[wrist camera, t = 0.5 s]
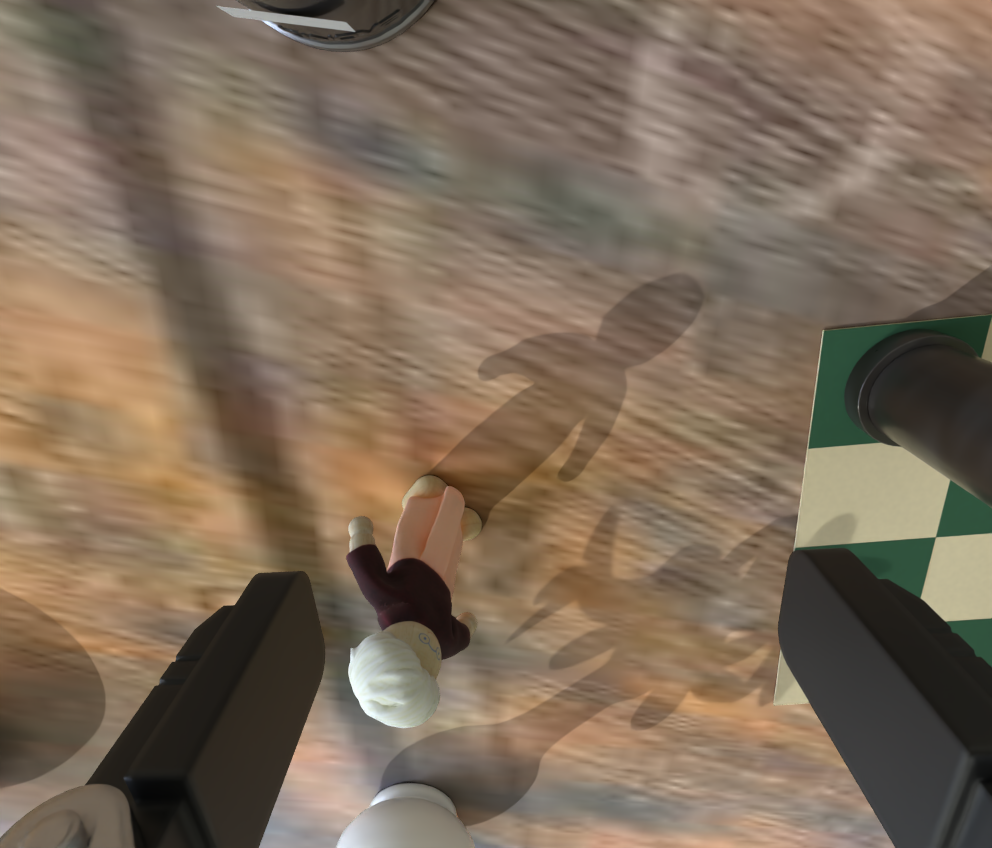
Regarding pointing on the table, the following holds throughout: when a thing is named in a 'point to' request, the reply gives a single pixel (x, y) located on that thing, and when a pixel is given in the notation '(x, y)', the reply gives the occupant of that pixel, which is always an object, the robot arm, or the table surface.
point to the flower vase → (407, 821)
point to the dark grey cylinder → (928, 404)
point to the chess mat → (893, 499)
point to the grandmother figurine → (411, 603)
